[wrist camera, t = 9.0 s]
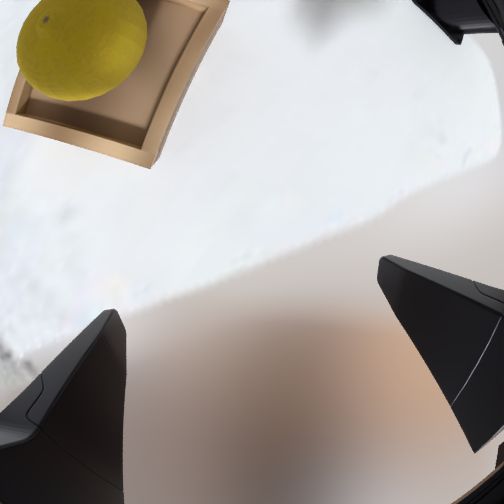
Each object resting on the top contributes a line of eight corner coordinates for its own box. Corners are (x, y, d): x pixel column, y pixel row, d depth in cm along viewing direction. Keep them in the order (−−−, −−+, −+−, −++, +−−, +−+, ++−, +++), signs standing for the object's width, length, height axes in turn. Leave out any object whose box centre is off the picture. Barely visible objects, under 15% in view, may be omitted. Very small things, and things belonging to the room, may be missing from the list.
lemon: (94, 4, 10) (40, -52, 3) (174, 31, 12) (166, -32, 5) (48, 86, 11) (-37, 83, 4) (124, 116, 14) (71, 122, 7)
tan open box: (222, 23, 14) (229, 1, 11) (159, 157, 18) (149, 169, 14) (90, -8, 11) (70, -30, 7) (34, 120, 14) (2, 125, 11)
